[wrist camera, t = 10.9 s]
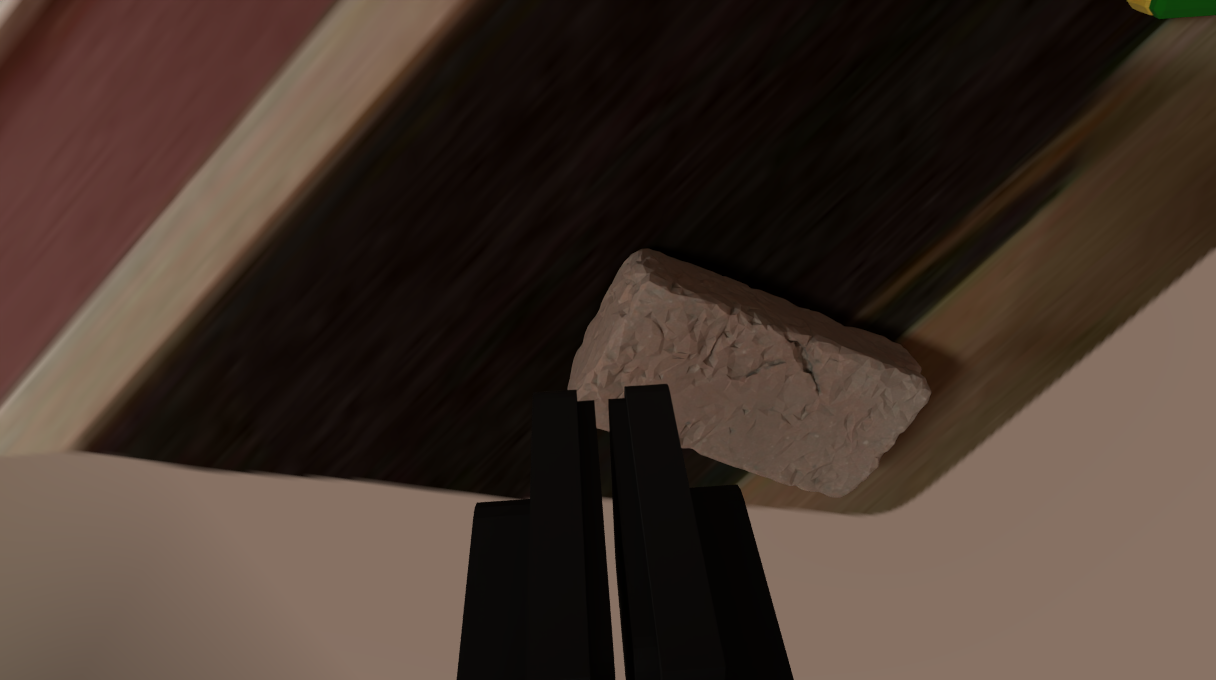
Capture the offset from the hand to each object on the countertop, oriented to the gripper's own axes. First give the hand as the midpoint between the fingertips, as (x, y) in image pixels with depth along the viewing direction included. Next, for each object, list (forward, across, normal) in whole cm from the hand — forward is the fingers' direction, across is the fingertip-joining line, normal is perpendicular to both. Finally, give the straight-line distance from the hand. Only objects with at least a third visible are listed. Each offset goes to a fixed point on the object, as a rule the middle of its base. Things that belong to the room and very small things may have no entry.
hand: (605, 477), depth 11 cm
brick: (+28, -8, +18) cm, 34 cm away
